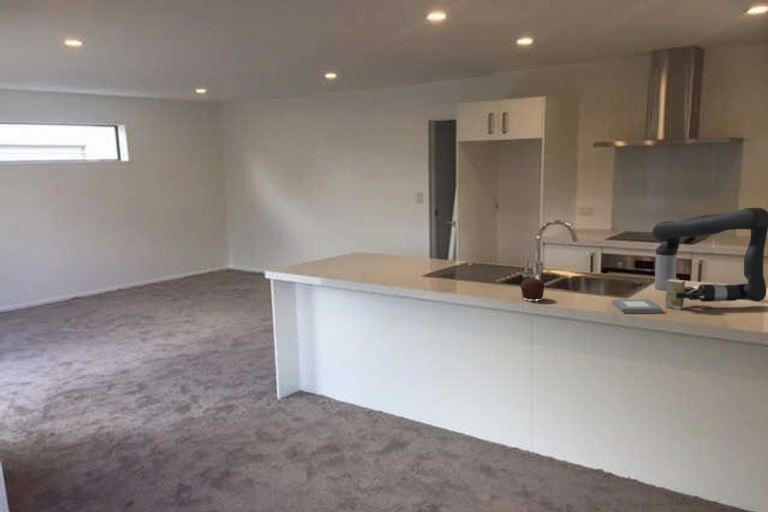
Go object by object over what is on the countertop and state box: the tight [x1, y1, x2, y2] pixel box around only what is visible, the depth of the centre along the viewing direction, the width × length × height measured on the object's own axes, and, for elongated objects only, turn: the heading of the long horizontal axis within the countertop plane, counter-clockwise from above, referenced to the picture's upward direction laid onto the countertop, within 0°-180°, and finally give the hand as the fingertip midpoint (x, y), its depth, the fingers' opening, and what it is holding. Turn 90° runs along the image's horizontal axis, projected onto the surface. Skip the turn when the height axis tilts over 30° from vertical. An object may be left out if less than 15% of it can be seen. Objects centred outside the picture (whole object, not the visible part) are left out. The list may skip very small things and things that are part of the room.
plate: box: [611, 298, 663, 314], centre depth 254 cm, size 16×16×2 cm
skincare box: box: [664, 279, 686, 310], centre depth 252 cm, size 6×4×12 cm
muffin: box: [519, 277, 546, 300], centre depth 276 cm, size 12×11×10 cm
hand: (672, 293), depth 252 cm, fingers open, 8 cm apart
